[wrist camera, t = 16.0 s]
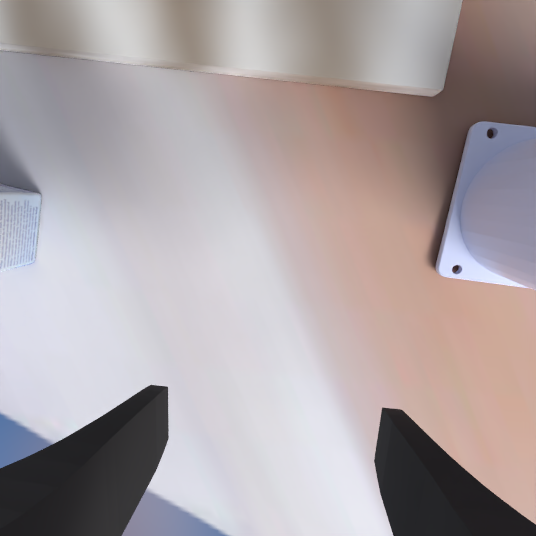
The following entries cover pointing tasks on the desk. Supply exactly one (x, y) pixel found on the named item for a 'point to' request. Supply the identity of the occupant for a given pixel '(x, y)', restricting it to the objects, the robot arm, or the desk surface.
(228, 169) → the desk surface
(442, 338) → the desk surface
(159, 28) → the board
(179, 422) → the desk surface
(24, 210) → the medicine box
